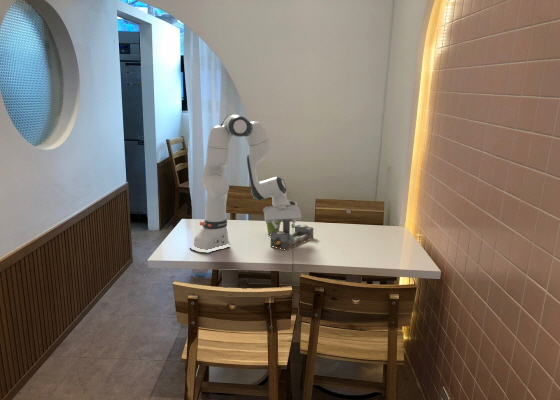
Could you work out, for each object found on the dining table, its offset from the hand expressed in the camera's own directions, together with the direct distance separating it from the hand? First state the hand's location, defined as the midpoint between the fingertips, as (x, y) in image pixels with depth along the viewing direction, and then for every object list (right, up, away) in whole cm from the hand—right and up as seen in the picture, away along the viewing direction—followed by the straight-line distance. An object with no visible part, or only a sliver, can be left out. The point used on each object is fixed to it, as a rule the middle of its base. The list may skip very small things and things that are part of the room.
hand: (285, 227), depth 248 cm
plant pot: (-7, -5, +20) cm, 21 cm away
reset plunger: (-3, -8, -4) cm, 9 cm away
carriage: (+1, -8, +1) cm, 8 cm away
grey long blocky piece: (+4, -8, +6) cm, 11 cm away
